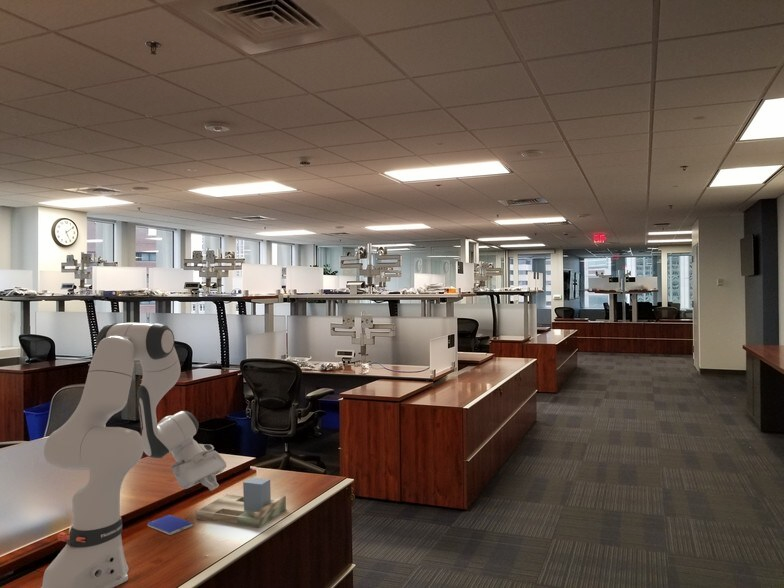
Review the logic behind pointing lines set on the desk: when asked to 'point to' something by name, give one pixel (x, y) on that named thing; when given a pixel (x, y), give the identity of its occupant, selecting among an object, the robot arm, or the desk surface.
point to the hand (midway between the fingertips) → (215, 488)
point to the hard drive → (169, 524)
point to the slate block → (256, 493)
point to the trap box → (240, 511)
